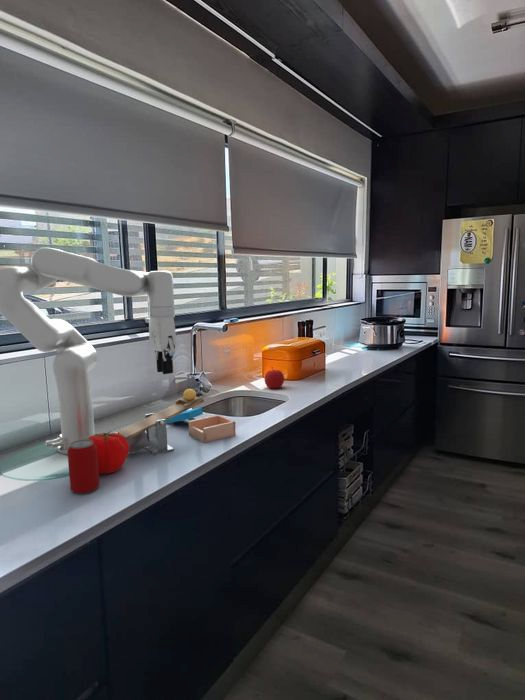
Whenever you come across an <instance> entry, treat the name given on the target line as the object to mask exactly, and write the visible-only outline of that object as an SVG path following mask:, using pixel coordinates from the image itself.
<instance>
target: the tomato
mask: <svg viewBox="0 0 525 700" xmlns="http://www.w3.org/2000/svg"><path fill="white" fill-rule="evenodd" d="M111 432H112V430H110V431H108V432H102V433H101V432H100V433H95V435H93V436H90V437H89V438H88V440H92V441H93V443H94V444H95V446H96V447H97V458H98V471H99V474H105V475H106V474H110V473H115V472H117V471H119V470H120V469H121V468H122V467H123V465H124V463H125V462H126V460H127V458H128V456H129V444H128V442H127V440H126V439H125V438H124V437H123V436H122V435H121V434H119V433H118V432H112V433H111Z"/></svg>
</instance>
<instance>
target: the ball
mask: <svg viewBox="0 0 525 700" xmlns="http://www.w3.org/2000/svg"><path fill="white" fill-rule="evenodd" d="M182 395H183V396H182V397H184V399H185V400H187V401H193V400H194V399H195V398H196V397H197V393H196V391H195V390H194V389H193V388H187V389H186V390H184V392H183V394H182Z"/></svg>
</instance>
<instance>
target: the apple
mask: <svg viewBox="0 0 525 700" xmlns="http://www.w3.org/2000/svg"><path fill="white" fill-rule="evenodd" d="M284 382H285V375H284V374H283V372H282V371H281V370H279V369H274V368H273V367H271V370H268V371H266V373H265V374H264V384H265V385H266V387H267V388H269V389H280V388H282V387H283V384H284Z"/></svg>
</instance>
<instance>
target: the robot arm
mask: <svg viewBox="0 0 525 700" xmlns="http://www.w3.org/2000/svg"><path fill="white" fill-rule="evenodd" d="M58 281H64V282H67V283H71V284H75V285H79V286H84V287H86V288H90V289H94V290H95V289H96V290H98V291H102V292H106V293H110V294H112V295H113V294H114V295H117V296H123V297H127V298H131V297H132V298H133V297H140V296H146V295H147V297H148V298H147V302H148V318H149V325H148V334H149V338H148V341H149V342H148V343H149V348H150V349H151V350H153V351H154V353H155V358H156V359H155V360H156V372H157V373H162V374H163V375H167V374H168V375H169V374H173V373H174V364H173V360H174V355H175V354H176V349H177V334H176V325H175V320H174V319H175V317H176V316H175V315H176V314H175V295H174V277H173V273H172V272H171V271H170V270H151V271H140V270H131V269H126V268H121V267H117V266H113V265H109V264H106V263H102V262H99V261H97V260H96V259H94V258H92V257H88V256H85V255H81V254H76V253H72V252H68V251H65V250H62V249H59V248H55V247H54V248H52V247H47V246H46V247H40V248H39V249H36V250H35V251H34V252H33V254H32V255H31V259H30V263H29V264H27V265H25V266H4V267H1V268H0V314H1V315H2V316H3V317H4V318H5V319H6V320H7V321H8V322H9V323H10V324H11V325H12V326H14V328H15V329H16V330H17V331H18V332H19V333H20V334H21V335H23V337H24V338H25V339H26V340H27V341H28V342H29V343H30V344H31V345H32V346H33V347H34V348H35V349H36V350H38V351H39V352H43V353H49V352H54V351H56V352H57V354H56V355H55V357H54V359H53V362H52V370H53V374H54V378H55V382H56V388H57V397H58V398H57V399H58V408H59V418H60V431H61V434H59V437H56V439H50V440H49V439H48V440H45V447H46V448H49V447H52V449H54V448H57V452H59V453H60V454H63V455H68V453H67V451H68V449H69V447H70V444H71V443H72V442H74V441H78V440H85V439H88V438H89V437H90V436H93V435H96V431H95V419H94V417H95V416H94V406H93V405H94V403H93V396H92V385H91V381H90V378H89V372H90V371H92V370H93V369H95V367H96V366H97V363H98V362H99V361H98V359H99V356H98V352H97V351H96V348H94V346H93V345H92V344H91V343H90V342H89V341H88V340H87V339H86V338H85V337H84V336H83V335H82V334H81V333H80V332H79V331H78V330H77V329H76V327H74V326H73V325H72V324H70V323H69V322H68V321H66V320H64V319H61V318H52V319H51V318H49V317H48V316H47V315H46V314H45V313H43V311H41V310H40V309H39V307H37V305H35V304H34V303H33V302H31V301H30V300H29V299H27V298H26V297H25V296H28V295H33V294H36V293H38V292H40V291H42V290H43V289H45V288H47V287H49V286H50V285H52V284H54V283H56V282H58ZM166 349H167V350H166Z"/></svg>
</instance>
